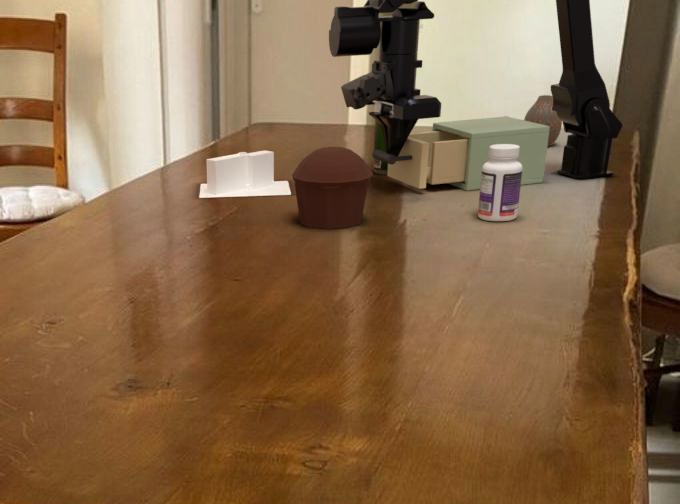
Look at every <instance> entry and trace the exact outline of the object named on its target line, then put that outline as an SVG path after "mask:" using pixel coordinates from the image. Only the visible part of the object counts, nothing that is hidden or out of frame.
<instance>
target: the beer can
mask: <svg viewBox="0 0 680 504" xmlns="http://www.w3.org/2000/svg"><path fill="white" fill-rule="evenodd" d="M374 120H375V119H374ZM373 141H374V143H373V151H374V150H376V149H377V150H380V151H383V152H385V151H386V147H385V143H384V139H383V134H382V131H381V127H380V124H379V123H378V122H377V121H376V120H375V121H374V139H373ZM372 165H373V166H372V169H373V172H374V174H378V175H382V176H383V175H385V176H387V173H388V163H386V162H383V161H380V160H378V159H375V158H373V164H372Z"/></svg>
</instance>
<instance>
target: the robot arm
mask: <svg viewBox="0 0 680 504" xmlns="http://www.w3.org/2000/svg"><path fill="white" fill-rule="evenodd" d="M590 1H591V0H555V5H556V15H557V25H558V34H559V36H558V37H559V45H560V56H561V63H562V72H561V75H560V79H559V83H554V84H551V85H550V92H551V96H552V97H553V106H552V110H553V111H556V113H557V116H558V118H559V119H560V120H561V121H562V125H563V126H562V127H563V131H564V133H566V134H567V133H569V134H567V138H566V144H565V145H564V146H563V153H562V160H561V168H558V169H556V173H558V174H562V175H564V176H568V177H571V178H575V179H583V180H584V179H592V178H600V177H610V176H614V172H613V171H611V170H608V169H609V168H608V167H609V164H610V163H609V161H610V156H611V149H612V144H613V139H617V138H618V136H619V134H620V132H621V131H622V128H623V123H622V122H621V121H620V120H619V118H618V117H617V115H615V113H614V112H613V110H612V109H611V103H610V97H609V94H608V90H607V86H606V83H605V80H604V79H603V77H602V76H601V73H600V72H599V69H598V68H597V65H596V59H595V48H594V37H593V26H592V25H593V23H592V13H591V2H590ZM415 2H416V3H415ZM414 3H415V4H414ZM411 4H414V6H412V7H411V6H410V7H402V6H403V5H411ZM333 10H334V13H333V17H332V19H331V23H330V29H329V30H328V45H329V47H328V48H329V51H330V54H331V57H333V58H337V57H339V58H340V57H354V56H355V57H356V56H370V55H371V54H372V53H373V51H374V49H378V47H379V53H378V59H375V60H373V62H372V64H371V71H370V72H368V73H366V74H362V75H361V76H358V77H356V78H354V79H353V80H350V81H348V82H347V83H344V84H343V85H342V86H341V87H340V89H341V92H342V96H343V99H344V103H345V107H346V108H352V109H353V110H360V109H363V108H365V107H366V106H373V111H370V112H368V115H369V116H370V117H372V119H374V120H376V121H377V122H378V123H379V124H380V127H381V131H382V134H383V139H384V143H385V147H386V152H387V153H389V154H392V155H394V156H396V157H398V156H399V154H400V152H401V150H402V148H403V146H404V144H405V142H406V140H407V138H408V136H409V135H410V133H412V131H413V130H414V128H415V126H416V124H417V123H418V121H419V120H424V119H435V118H440V117H441V116H442V115H441V114H442V102H441V101H440V100H439V99H438V98H437V97H436V96H433V95H428V94H421V88H416V86H417V85H416V84H417V69H421V68H423V60H422V59H418V56H419V55H418V54H419V52H418V51H419V38H420V25H421V24H420V23H421V20H432V19H434V18H435V13H434V12H433V11H431V10H430V8H428V6H427V4H426V2H425V1H422V0H421V1H420V0H366V2H365V3H364V4H363V6H352V7H351V6H350V7H349V6H344V5H342V6H341V5H340V6H335V7H334V9H333ZM391 13H392V14H391ZM380 14H391V15H381V16H380Z"/></svg>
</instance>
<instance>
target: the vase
mask: <svg viewBox="0 0 680 504" xmlns="http://www.w3.org/2000/svg"><path fill="white" fill-rule="evenodd" d="M552 106H553V96H552V95H550V94H549V95H548V94H541V95H539V96H538V97H537V99H536V101H535V102H534V103H533V104H532V105H531V107H530V108H529V109H528V110H527V112H526V114H525V116H524V119H523V120H525V121H529V122H533V123H537V124H542V125H546V126H550V129H549V138H548V146H547V148H548V147H551V146H553V144H555V142H556V141H557V140H558V138H559V135H560V133H561V130H562V127H563V126H562V125H563V121H561V120H560V119H559V118H558V116H557V113H556V111H553V110H552Z"/></svg>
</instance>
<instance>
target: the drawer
mask: <svg viewBox="0 0 680 504" xmlns="http://www.w3.org/2000/svg"><path fill="white" fill-rule="evenodd" d="M468 145H469V138H467V137H463V136H460V135H456V134H453V133H449V132H446V131H433V130H431V131H422V132H411V133H410V135H409V136H408V138H407V140H406V142H405V144H404V146H403V148H402V150H401V152H400V154H399V156H398V157H396V156H394V155H392V154H389V153H387V152H386V151H385V152H383V151H380V150H377V149H376V150H374V149H373V151H372V153H371V157H372V158H373V159H374V158H375V159H378V160H380V161H383V162H386V163H388V173H387V175H386V176H387V177H388V178H391V179H394V180H396V181H399V182H401V183H403V184H406V185H409V186H411V187H413V188H416V189H419V190H421V189H426V188H427V184H428V185H429V184H430V185H433V186H434V185H440V184H442V185H443V184H448V183H452V182H462V181H465V178H466V167H467V156H468Z"/></svg>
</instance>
